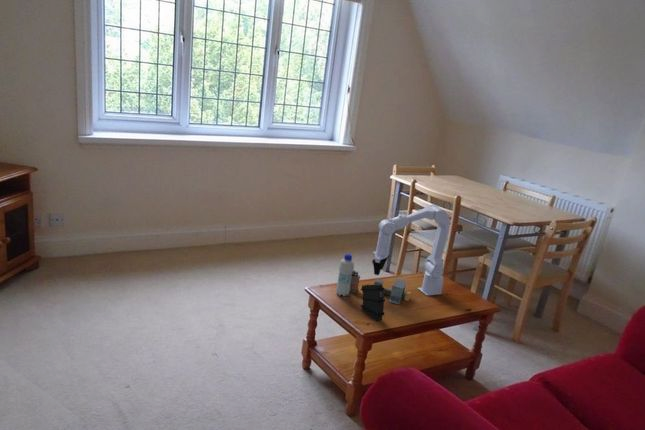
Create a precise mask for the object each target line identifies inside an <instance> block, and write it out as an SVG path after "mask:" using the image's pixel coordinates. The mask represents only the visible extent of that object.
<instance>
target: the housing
mask: <svg viewBox="0 0 645 430" xmlns="http://www.w3.org/2000/svg"><path fill="white" fill-rule="evenodd" d="M407 282H408V281H407V280H405V279H400V278H396V279H395V281H394V282H393V284H392V286H391V289H390V290H391V295H389V299H388V300H387V301H388V303H391V304H394V305H400V304H401V301H402V299H401V298H402V293H403V294H406V290H407V289H406V287H407Z"/></svg>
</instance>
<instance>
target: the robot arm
mask: <svg viewBox="0 0 645 430" xmlns="http://www.w3.org/2000/svg"><path fill="white" fill-rule="evenodd" d="M422 219H423V220H424V219H427V220H430V221H434V223H436V225H437V228H436V233H435V236H434V241H433V244H432V249H431V252H430V254H429V256H428V255H427V257H426V260H425V262H424V264H423V268H424V276H423V280H422V284H421V287H418V286H417V289H418V290H419V291H420V292H421V293H422V294H424V295H425V296H435V295H436V296H437V295H438V296H439V295H442V294H443V291H442V290H443V286H444V277H443V274H444V261H443V254H444V250H445V246H446V242H447V240H448V235H449V231H450V228H451V222H450V219H449V214H448V212H447V211H446V210H444V209H442V208H441V207H439V206H438V205H437V204H435V203H434V204H430V205H427V206H425V207H424V208H422V209H419V210H417V211H415V212H413V213H410V214H408V215H404V214H401V213H400V214H398V216H396V217H390V218H388V219H382V220H381V221H380V222H379V223H378V229H379V232H378V237H377V238H378V239H377V244H376V248H375V249H376V250H375V251H373V252H372V254H373V255H374V256H375V258H373V259H372V261H371V263H372V266H373V274H374V275H375V276H379V275H380V274H381V271H382V270H384V267H385V264H386V262H387V260H388V259H389V258H390V255H389V250H390V244H391V239H392V235H393V234H394V232H396V231H397V230H401V229H403V228H406V227H408V226H409V224H410V223H414V222H416V221H419V220H422Z"/></svg>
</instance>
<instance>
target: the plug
mask: <svg viewBox="0 0 645 430" xmlns="http://www.w3.org/2000/svg"><path fill="white" fill-rule="evenodd" d="M373 285H384V280H383V279H378V278H376V279H375V280H374V284H373ZM391 290H392V289H388V288H385V287H384V289H383V293H384V295H387V296H390V295H391ZM410 298H411V291H405V294H403V293H402V298H401V300H404V301H407V302H409V301H410Z"/></svg>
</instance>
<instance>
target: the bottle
mask: <svg viewBox="0 0 645 430" xmlns="http://www.w3.org/2000/svg"><path fill="white" fill-rule="evenodd" d="M354 265H355V261H354V260H353V255H351V254H349V253H346V254H345V255H344V258H342V259H341V260H340V263H339V267H338V270H339V271H338V278H337V284H336V288H335V289H336V290H335V292H336V294H337V295H338V296H339V297H341V295H342V297H347V296H348V295H349V293H350V292H351V291H350V283H351V277H352V272H353V270H355V269H354V268H355V267H354Z"/></svg>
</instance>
